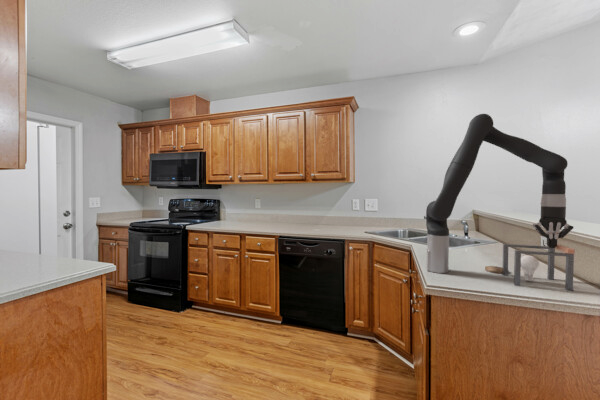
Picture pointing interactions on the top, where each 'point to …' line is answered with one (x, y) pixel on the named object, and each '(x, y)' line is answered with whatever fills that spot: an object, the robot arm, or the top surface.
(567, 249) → the bar
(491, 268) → the pad
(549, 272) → the frame
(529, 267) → the lightbulb
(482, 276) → the top surface
